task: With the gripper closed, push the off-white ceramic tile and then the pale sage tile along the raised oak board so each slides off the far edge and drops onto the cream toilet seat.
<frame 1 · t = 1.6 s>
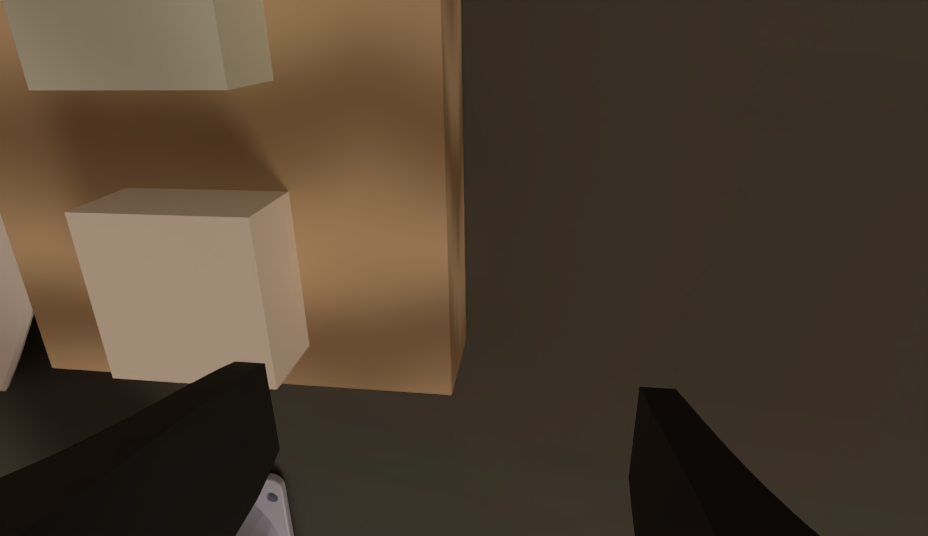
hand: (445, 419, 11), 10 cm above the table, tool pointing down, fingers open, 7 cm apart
white tile: (221, 269, 18), point 3 cm above the table, touching oak board
oak board: (254, 117, 19), on the table
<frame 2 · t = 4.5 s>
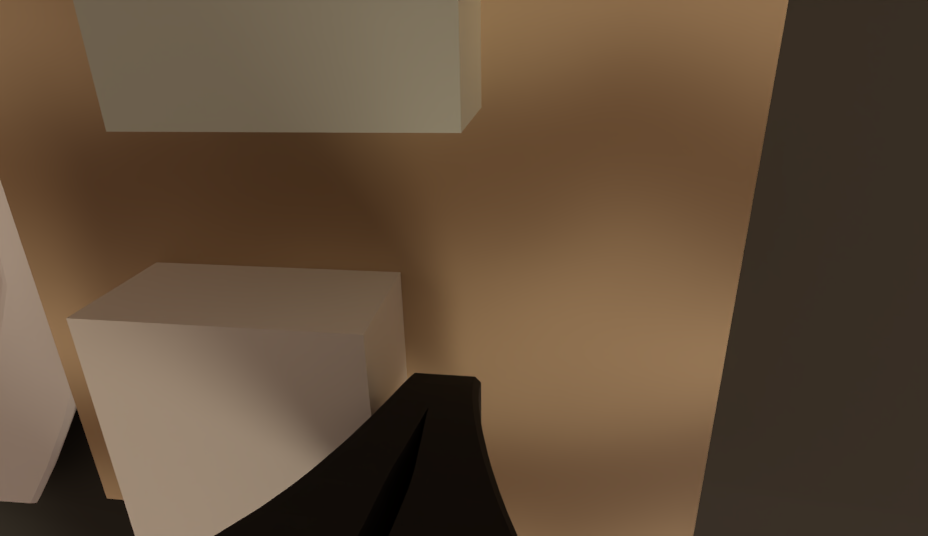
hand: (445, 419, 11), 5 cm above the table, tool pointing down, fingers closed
white tile: (291, 376, 12), point 4 cm above the table, touching gripper
oak board: (392, 152, 14), on the table
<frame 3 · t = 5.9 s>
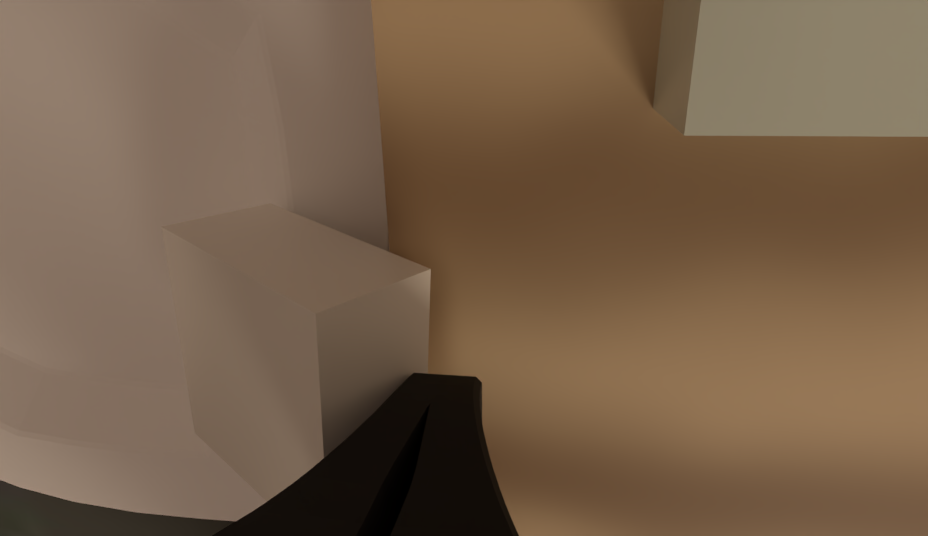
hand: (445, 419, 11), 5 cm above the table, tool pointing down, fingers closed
cream toilet seat: (70, 180, 16), on the table, touching white tile
white tile: (344, 340, 13), point 3 cm above the table, tilted 33°, touching gripper, cream toilet seat
oak board: (738, 156, 13), on the table
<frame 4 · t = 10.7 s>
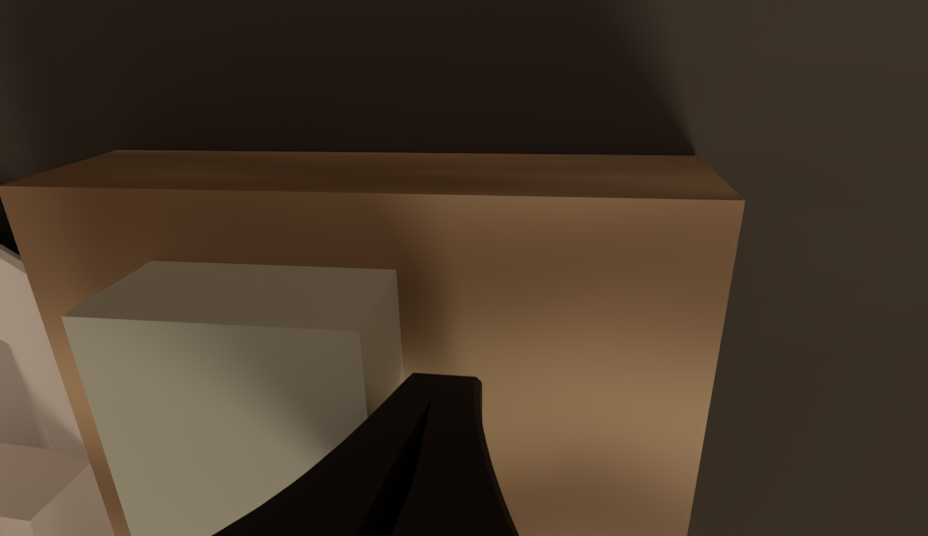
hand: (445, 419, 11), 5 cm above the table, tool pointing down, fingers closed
white tile: (39, 509, 18), point 2 cm above the table, touching cream toilet seat
oak board: (406, 428, 17), on the table
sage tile: (287, 374, 12), point 4 cm above the table, touching oak board
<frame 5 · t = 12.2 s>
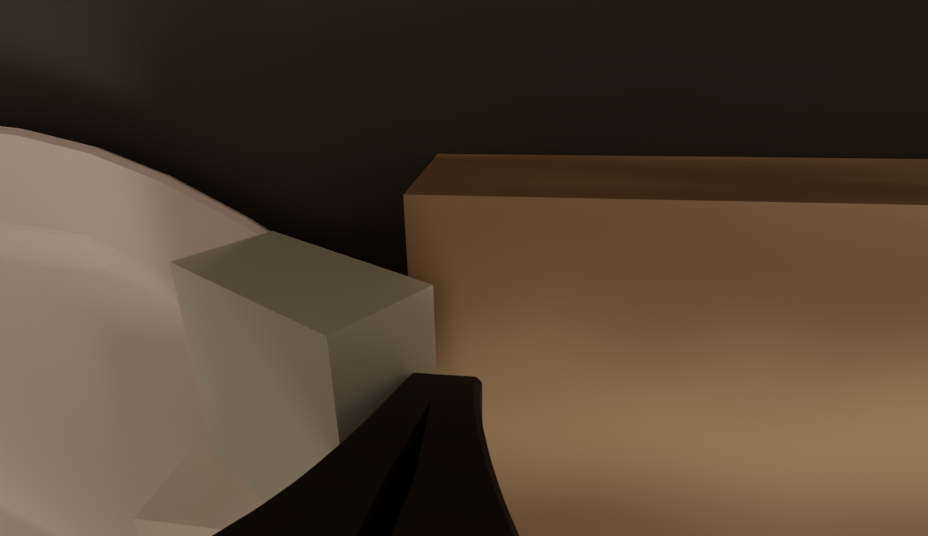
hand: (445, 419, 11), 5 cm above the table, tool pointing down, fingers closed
cream toilet seat: (131, 414, 19), on the table, touching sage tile, white tile
white tile: (281, 529, 17), point 1 cm above the table, touching cream toilet seat
oak board: (702, 450, 16), on the table
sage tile: (353, 359, 13), point 3 cm above the table, tilted 32°, touching gripper, cream toilet seat
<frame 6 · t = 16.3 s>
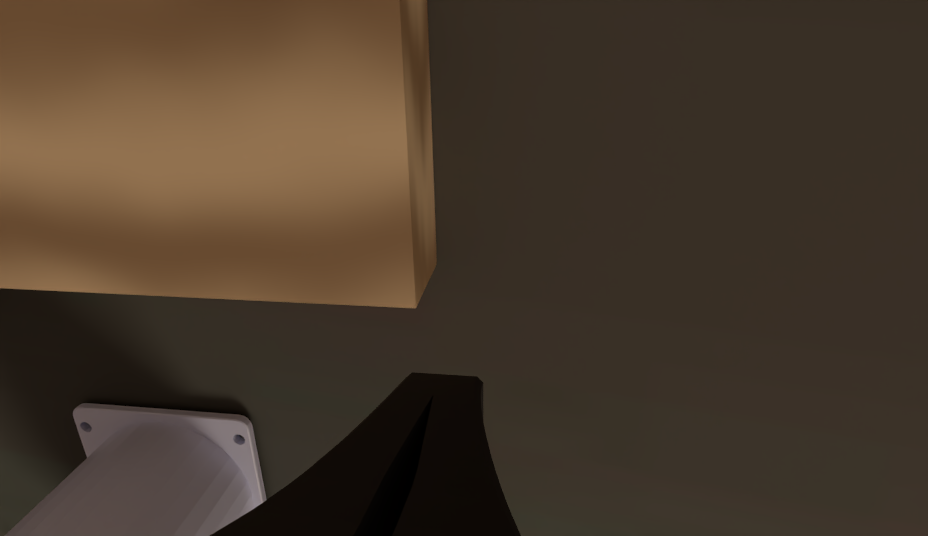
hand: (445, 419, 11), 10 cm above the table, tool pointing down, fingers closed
oak board: (208, 20, 18), on the table
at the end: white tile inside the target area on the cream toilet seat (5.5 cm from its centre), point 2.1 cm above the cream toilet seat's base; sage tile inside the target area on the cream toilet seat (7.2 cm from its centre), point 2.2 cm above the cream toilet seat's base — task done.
